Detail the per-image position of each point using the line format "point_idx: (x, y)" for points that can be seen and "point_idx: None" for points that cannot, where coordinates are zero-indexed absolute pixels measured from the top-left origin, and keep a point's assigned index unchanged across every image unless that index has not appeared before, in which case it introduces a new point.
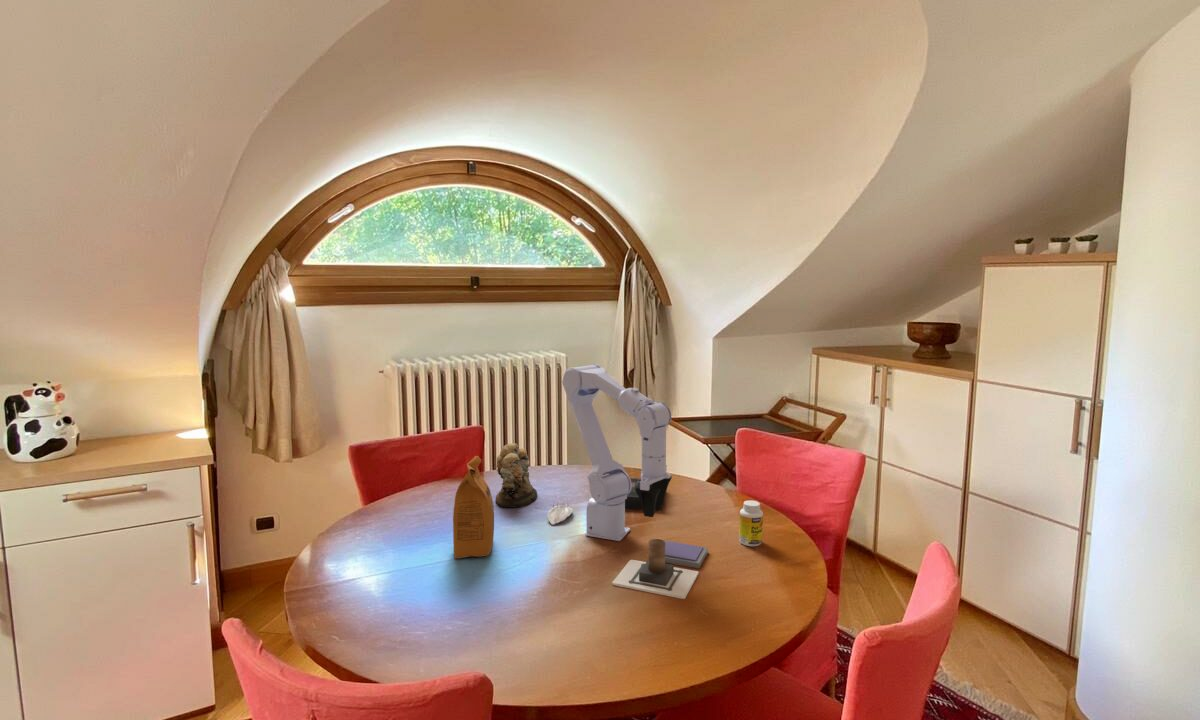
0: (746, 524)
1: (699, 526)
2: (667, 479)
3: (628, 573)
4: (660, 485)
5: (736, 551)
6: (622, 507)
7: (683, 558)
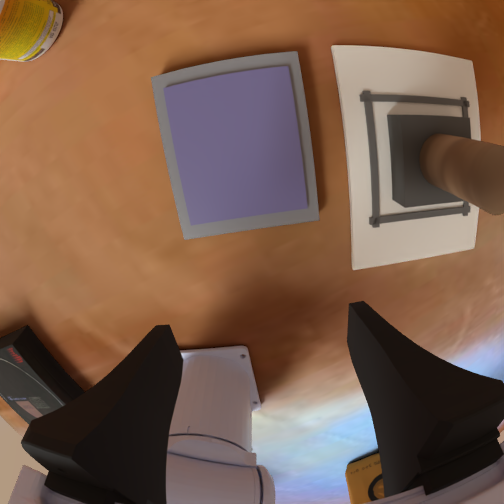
0: (21, 8)
1: (21, 203)
2: (89, 457)
3: (430, 235)
4: (135, 438)
5: (106, 20)
6: (201, 421)
7: (294, 110)
